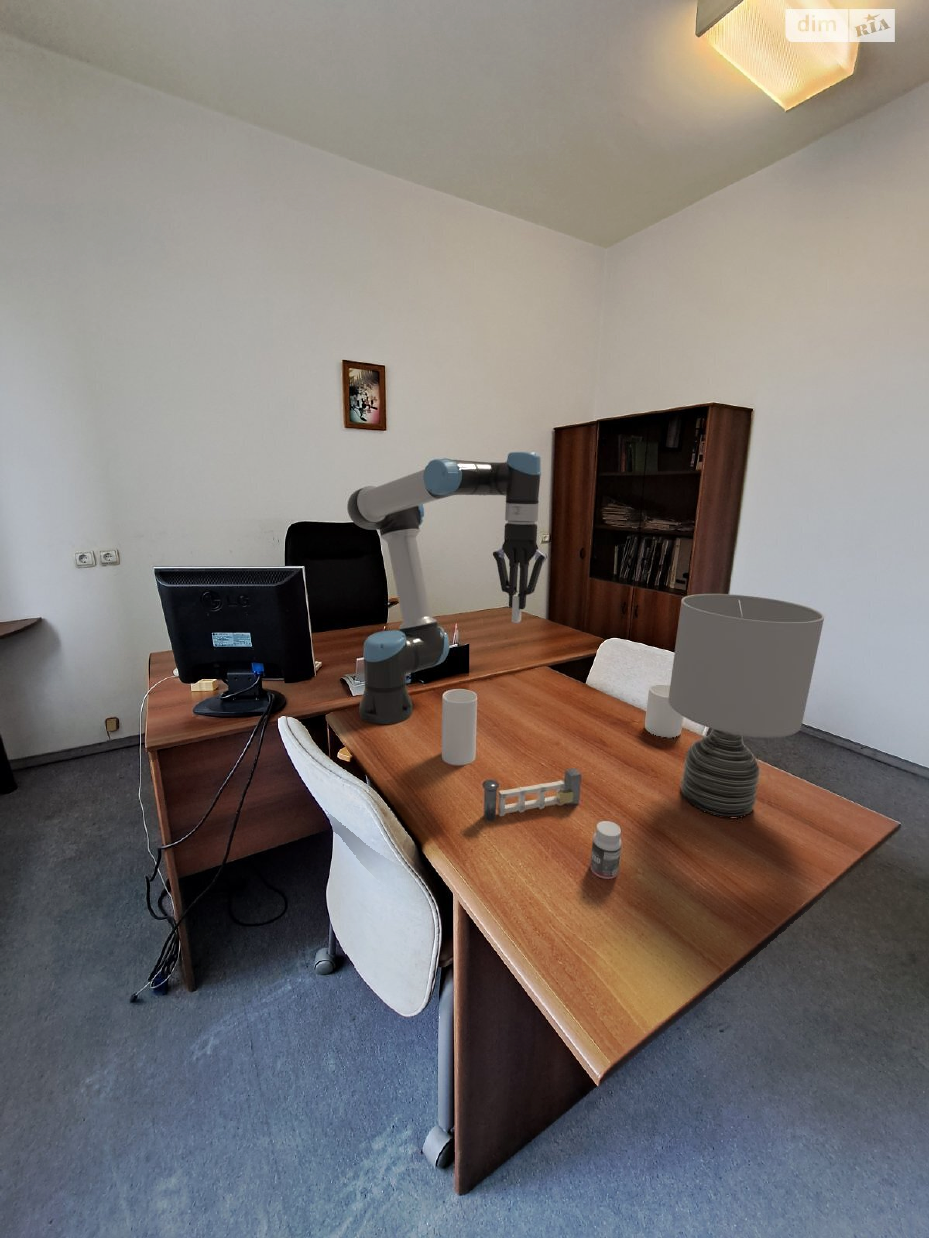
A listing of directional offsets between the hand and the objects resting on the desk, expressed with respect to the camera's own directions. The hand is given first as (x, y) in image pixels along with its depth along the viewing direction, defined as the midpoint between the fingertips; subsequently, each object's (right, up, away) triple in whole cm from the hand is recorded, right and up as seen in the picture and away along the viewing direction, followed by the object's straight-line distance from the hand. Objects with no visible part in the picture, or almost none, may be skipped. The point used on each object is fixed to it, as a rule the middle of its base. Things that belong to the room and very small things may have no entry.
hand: (516, 621), depth 122 cm
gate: (+1, -38, -19) cm, 43 cm away
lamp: (+42, -38, -14) cm, 58 cm away
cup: (-14, -33, +1) cm, 36 cm away
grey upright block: (+9, -38, -17) cm, 42 cm away
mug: (+42, -30, +18) cm, 54 cm away
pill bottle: (+12, -43, -35) cm, 56 cm away
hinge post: (-8, -39, -21) cm, 45 cm away
